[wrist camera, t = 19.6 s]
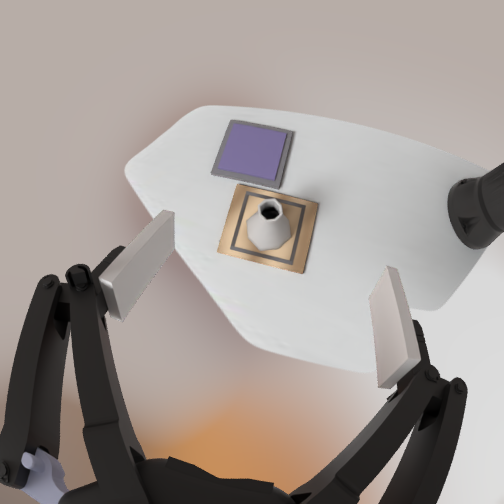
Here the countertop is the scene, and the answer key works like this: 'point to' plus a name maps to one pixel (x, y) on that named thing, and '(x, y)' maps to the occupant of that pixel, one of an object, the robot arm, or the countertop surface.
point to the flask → (268, 226)
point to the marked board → (284, 258)
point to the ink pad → (253, 154)
